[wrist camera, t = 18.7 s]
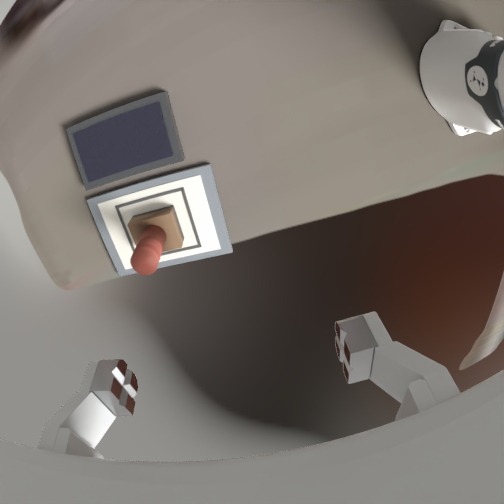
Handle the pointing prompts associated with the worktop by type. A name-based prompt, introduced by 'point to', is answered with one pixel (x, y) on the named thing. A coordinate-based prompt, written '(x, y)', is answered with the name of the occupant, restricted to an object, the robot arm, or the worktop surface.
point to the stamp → (154, 237)
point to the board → (159, 196)
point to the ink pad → (126, 141)
